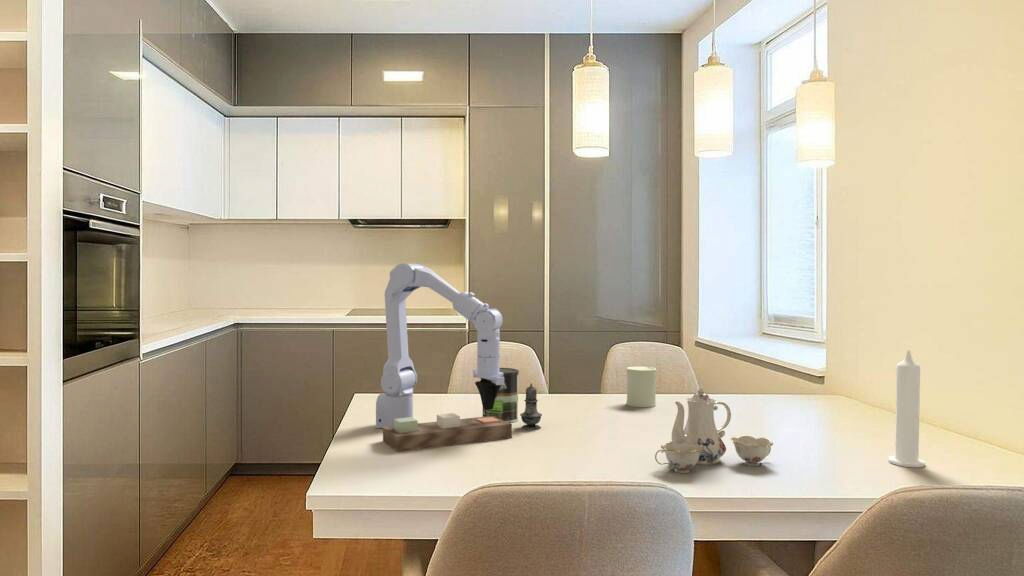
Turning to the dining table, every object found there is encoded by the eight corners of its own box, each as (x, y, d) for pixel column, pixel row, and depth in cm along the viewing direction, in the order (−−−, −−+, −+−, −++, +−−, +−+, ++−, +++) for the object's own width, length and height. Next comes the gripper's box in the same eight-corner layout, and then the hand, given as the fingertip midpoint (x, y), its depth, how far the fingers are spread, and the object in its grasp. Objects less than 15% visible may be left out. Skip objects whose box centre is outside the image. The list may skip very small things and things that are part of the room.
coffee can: (510, 425, 189) (510, 373, 189) (476, 421, 193) (476, 371, 193) (524, 417, 199) (524, 368, 198) (491, 414, 203) (491, 366, 202)
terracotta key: (484, 434, 175) (484, 422, 175) (476, 431, 179) (476, 418, 179) (499, 432, 177) (499, 420, 177) (492, 429, 181) (492, 417, 181)
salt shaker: (540, 430, 182) (540, 385, 182) (518, 429, 184) (518, 384, 183) (543, 425, 188) (543, 381, 188) (522, 424, 189) (522, 381, 189)
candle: (881, 459, 156) (883, 348, 155) (911, 458, 156) (913, 348, 156) (901, 468, 149) (903, 351, 148) (932, 467, 149) (934, 351, 149)
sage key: (399, 435, 165) (399, 422, 164) (394, 432, 168) (394, 418, 168) (417, 433, 167) (417, 420, 166) (411, 430, 170) (411, 417, 170)
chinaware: (677, 488, 140) (683, 408, 138) (631, 459, 155) (636, 386, 153) (783, 473, 151) (790, 398, 149) (731, 447, 166) (736, 379, 164)
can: (658, 407, 214) (658, 368, 214) (628, 407, 214) (628, 368, 214) (652, 402, 223) (653, 364, 223) (624, 401, 223) (624, 364, 223)
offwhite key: (443, 431, 170) (443, 418, 170) (436, 427, 174) (436, 414, 173) (459, 429, 172) (459, 416, 172) (452, 425, 176) (452, 413, 175)
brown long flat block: (396, 451, 161) (396, 436, 161) (383, 441, 171) (383, 427, 171) (511, 437, 175) (511, 423, 175) (492, 428, 184) (492, 415, 184)
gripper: (515, 358, 173) (515, 412, 173) (490, 352, 186) (489, 402, 186) (489, 360, 169) (489, 415, 170) (466, 353, 182) (465, 405, 183)
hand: (488, 409), depth 178 cm, fingers closed
